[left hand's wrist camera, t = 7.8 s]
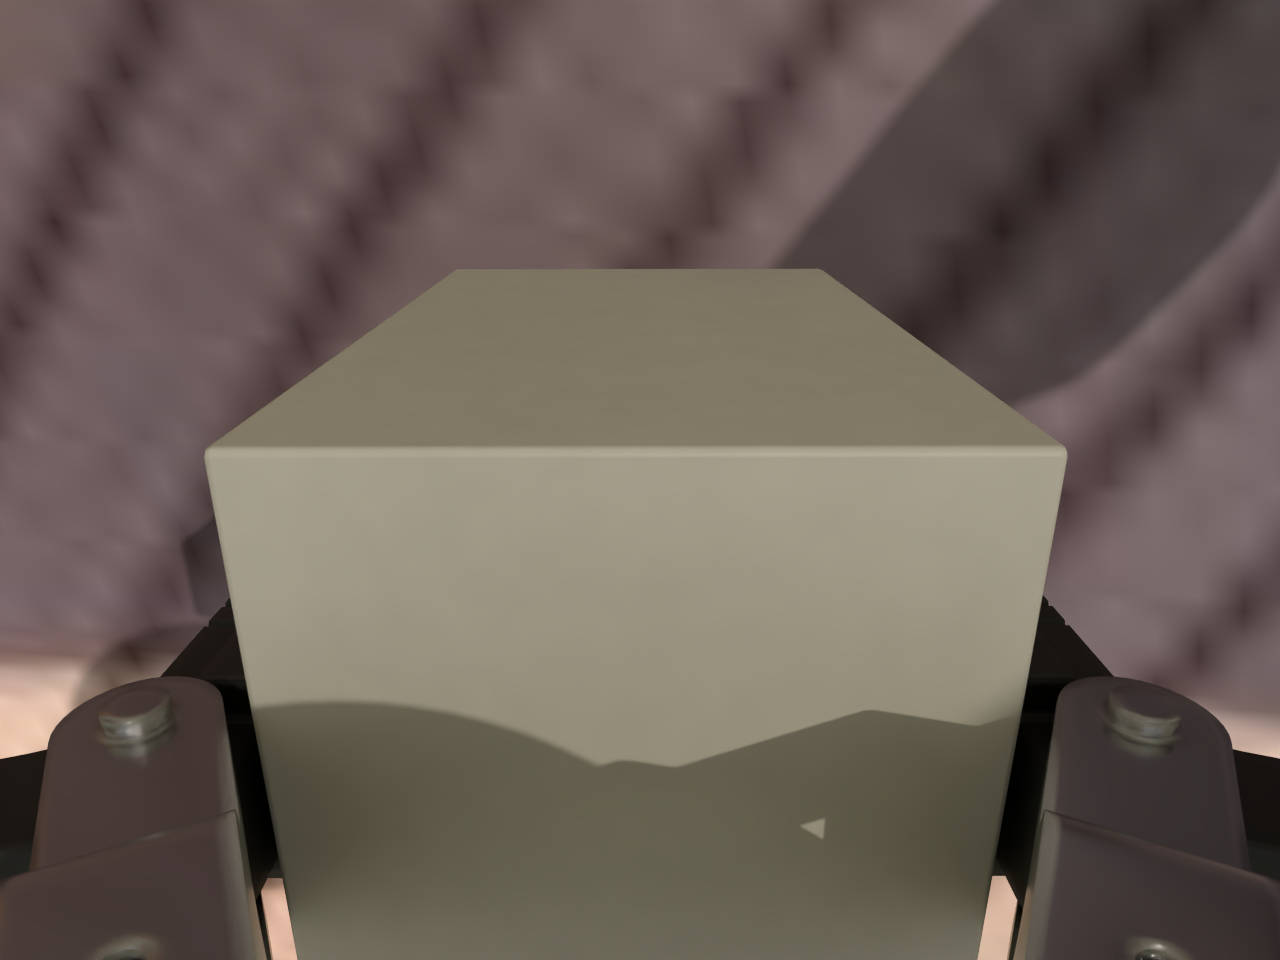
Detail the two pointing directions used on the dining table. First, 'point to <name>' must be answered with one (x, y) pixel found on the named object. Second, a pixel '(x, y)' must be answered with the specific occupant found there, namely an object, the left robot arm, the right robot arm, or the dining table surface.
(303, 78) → the dining table surface
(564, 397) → the box
